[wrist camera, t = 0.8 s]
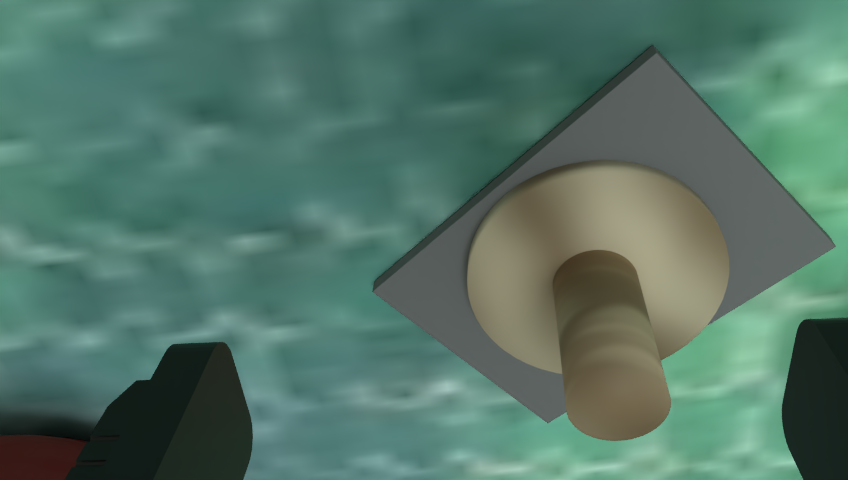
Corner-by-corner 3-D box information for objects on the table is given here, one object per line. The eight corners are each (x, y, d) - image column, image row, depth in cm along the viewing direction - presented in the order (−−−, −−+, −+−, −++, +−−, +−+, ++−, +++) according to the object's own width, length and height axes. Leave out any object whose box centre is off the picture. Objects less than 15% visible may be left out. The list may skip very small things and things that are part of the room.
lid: (610, 106, 28) (647, 221, 22) (775, 272, 32) (848, 412, 26) (416, 267, 33) (398, 400, 27) (578, 394, 37) (597, 538, 31)
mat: (652, 44, 28) (656, 52, 27) (828, 235, 32) (836, 246, 31) (374, 281, 35) (372, 291, 34) (546, 411, 39) (547, 423, 38)
